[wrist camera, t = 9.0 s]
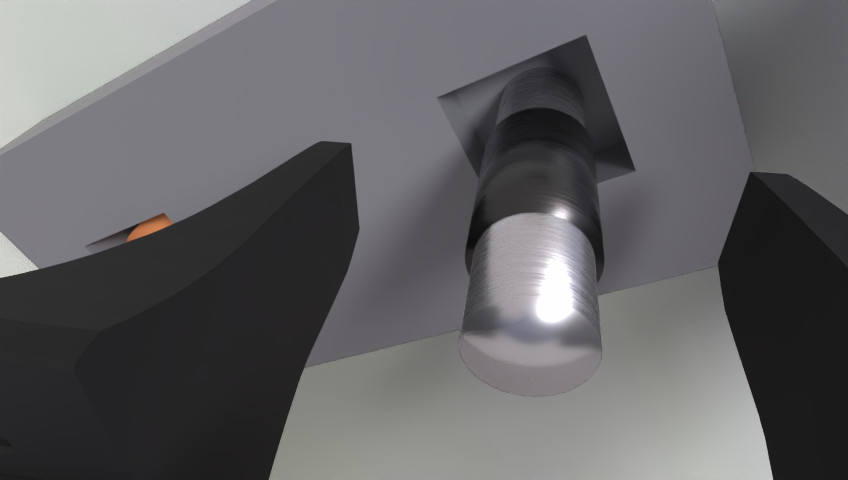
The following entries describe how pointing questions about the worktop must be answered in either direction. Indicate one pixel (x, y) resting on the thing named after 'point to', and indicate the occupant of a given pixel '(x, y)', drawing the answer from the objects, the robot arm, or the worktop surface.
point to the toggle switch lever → (535, 244)
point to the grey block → (397, 139)
